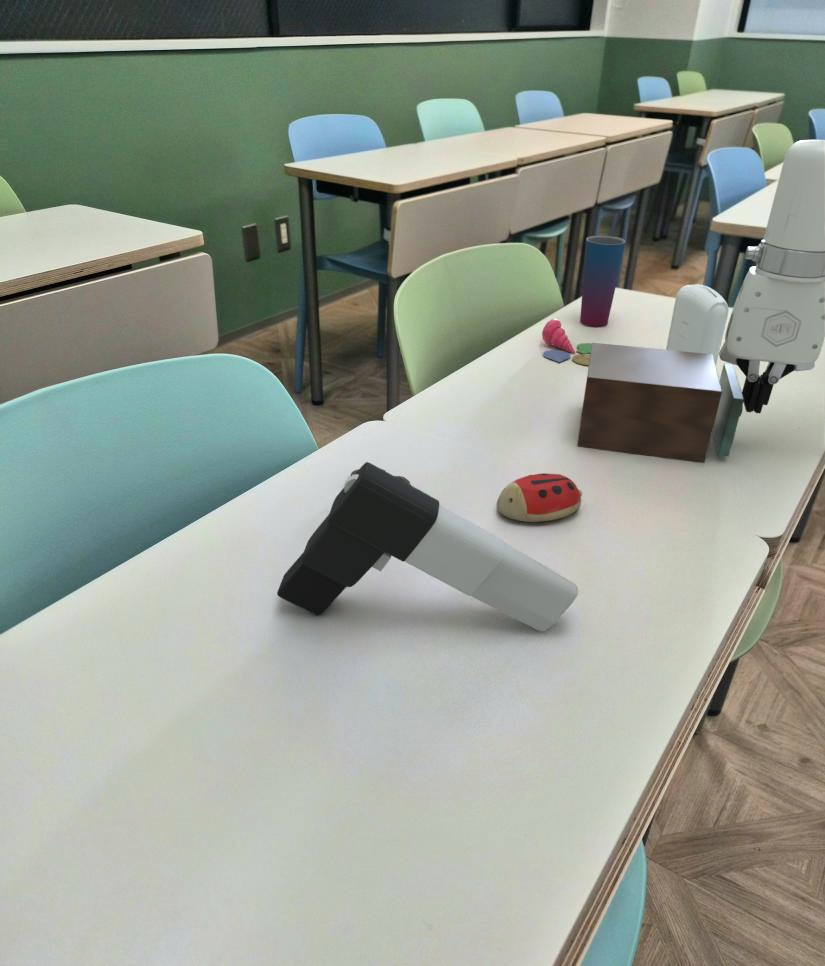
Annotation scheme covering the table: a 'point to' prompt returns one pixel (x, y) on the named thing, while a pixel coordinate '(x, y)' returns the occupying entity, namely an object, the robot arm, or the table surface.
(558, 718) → the table surface
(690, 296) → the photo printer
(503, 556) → the handheld device
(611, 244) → the cup
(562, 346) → the toy pieces
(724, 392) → the drawer
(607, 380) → the cabinet
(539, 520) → the ladybug figurine
